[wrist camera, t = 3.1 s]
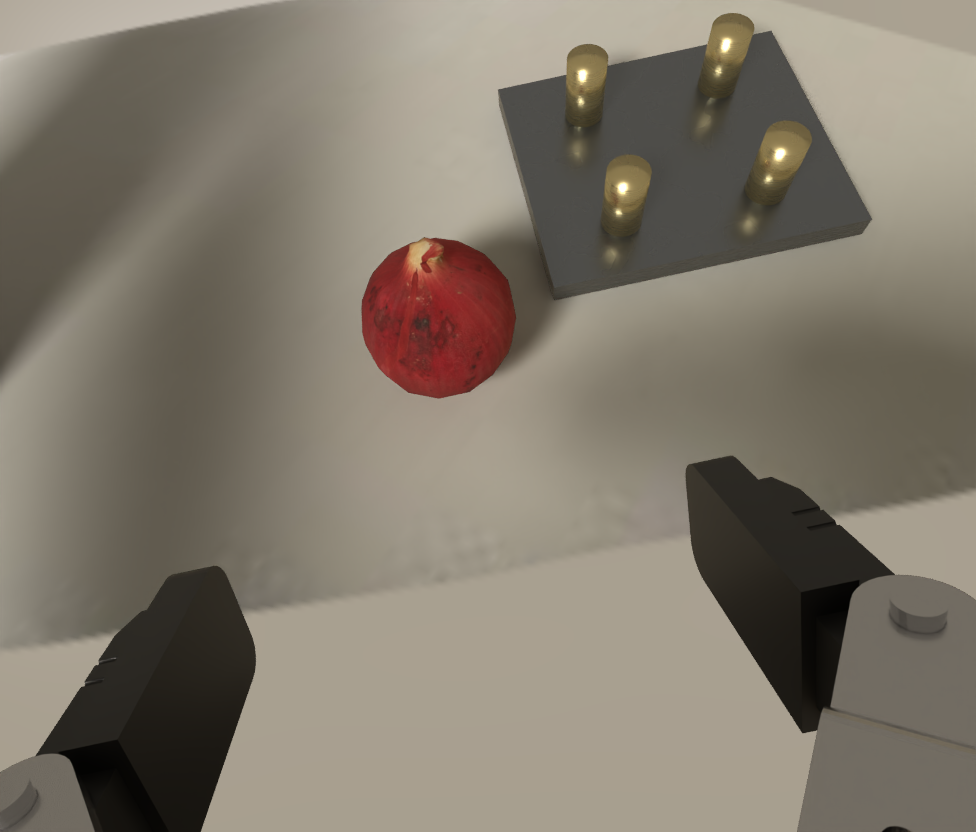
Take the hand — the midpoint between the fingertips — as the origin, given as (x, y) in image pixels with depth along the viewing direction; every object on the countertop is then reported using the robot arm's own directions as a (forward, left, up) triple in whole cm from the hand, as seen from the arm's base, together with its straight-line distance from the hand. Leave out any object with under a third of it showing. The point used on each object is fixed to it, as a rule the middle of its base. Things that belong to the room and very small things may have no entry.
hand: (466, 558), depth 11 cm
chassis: (+12, +19, -14) cm, 26 cm away
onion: (0, +11, -14) cm, 18 cm away
